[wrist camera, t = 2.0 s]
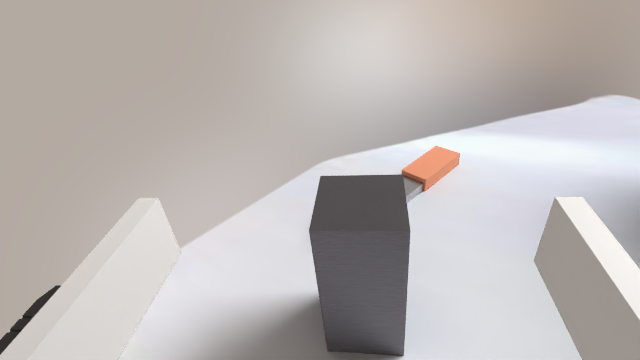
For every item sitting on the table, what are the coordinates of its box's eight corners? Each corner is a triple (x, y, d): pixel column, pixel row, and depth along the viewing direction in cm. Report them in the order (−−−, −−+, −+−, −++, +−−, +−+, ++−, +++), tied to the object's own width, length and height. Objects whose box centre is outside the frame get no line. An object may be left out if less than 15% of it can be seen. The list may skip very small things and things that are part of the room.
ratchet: (372, 262, 37) (371, 233, 34) (312, 224, 42) (308, 197, 40) (479, 169, 48) (483, 143, 46) (421, 149, 54) (422, 125, 52)
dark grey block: (334, 290, 34) (320, 176, 27) (399, 292, 33) (403, 174, 26) (327, 350, 29) (309, 230, 22) (403, 355, 28) (410, 231, 21)
